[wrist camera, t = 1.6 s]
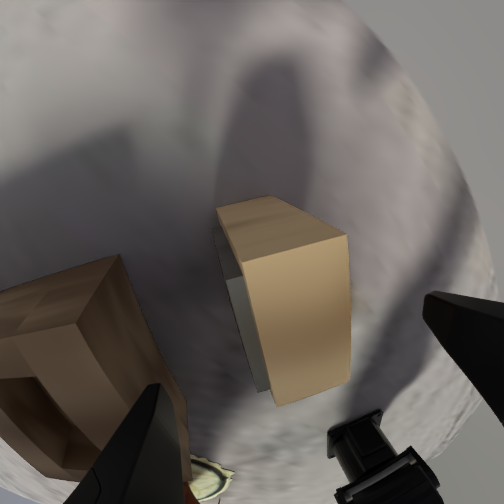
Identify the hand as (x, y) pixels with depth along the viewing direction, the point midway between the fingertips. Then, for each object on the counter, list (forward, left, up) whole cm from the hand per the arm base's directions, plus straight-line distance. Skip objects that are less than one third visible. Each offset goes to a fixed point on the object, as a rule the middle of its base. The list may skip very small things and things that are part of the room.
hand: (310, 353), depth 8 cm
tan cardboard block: (0, 0, -9) cm, 9 cm away
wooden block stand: (-4, +24, -9) cm, 26 cm away
